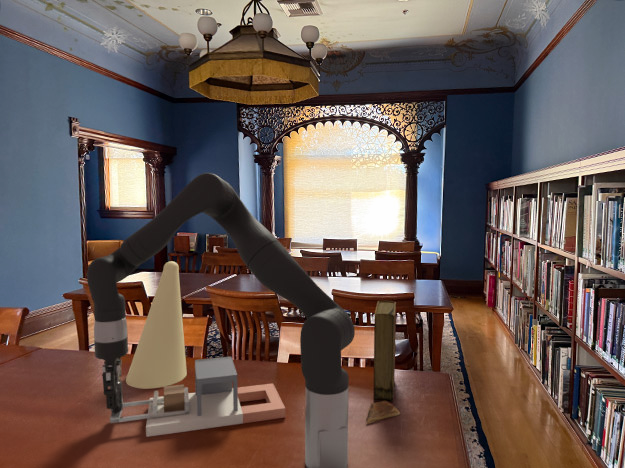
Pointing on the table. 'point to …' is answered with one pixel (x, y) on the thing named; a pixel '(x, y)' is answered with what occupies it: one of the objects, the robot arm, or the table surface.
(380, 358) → the book
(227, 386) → the tunnel
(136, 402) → the sled
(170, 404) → the block
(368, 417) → the shard
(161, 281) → the cone light
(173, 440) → the table surface
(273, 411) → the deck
